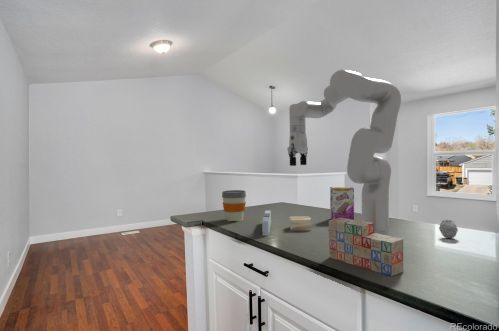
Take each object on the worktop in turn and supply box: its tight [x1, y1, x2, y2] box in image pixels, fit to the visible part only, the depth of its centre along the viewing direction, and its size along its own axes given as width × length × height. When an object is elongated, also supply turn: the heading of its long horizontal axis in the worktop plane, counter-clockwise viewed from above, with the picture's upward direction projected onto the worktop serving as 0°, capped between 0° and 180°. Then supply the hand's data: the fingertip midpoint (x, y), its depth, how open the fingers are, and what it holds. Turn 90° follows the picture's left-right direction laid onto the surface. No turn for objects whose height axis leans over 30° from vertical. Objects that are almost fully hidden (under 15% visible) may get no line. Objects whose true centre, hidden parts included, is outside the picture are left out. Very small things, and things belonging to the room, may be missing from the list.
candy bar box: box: [329, 186, 355, 220], centre depth 159 cm, size 11×5×16 cm, turn 84°
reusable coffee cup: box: [221, 189, 247, 222], centre depth 165 cm, size 13×13×15 cm
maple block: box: [289, 216, 312, 231], centre depth 142 cm, size 7×9×5 cm
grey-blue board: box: [261, 210, 272, 237], centre depth 143 cm, size 26×2×6 cm, turn 174°
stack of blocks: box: [328, 218, 404, 277], centre depth 94 cm, size 21×6×12 cm, turn 35°
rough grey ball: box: [438, 219, 458, 239], centre depth 120 cm, size 6×7×7 cm
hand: (298, 165), depth 153 cm, fingers open, 9 cm apart
